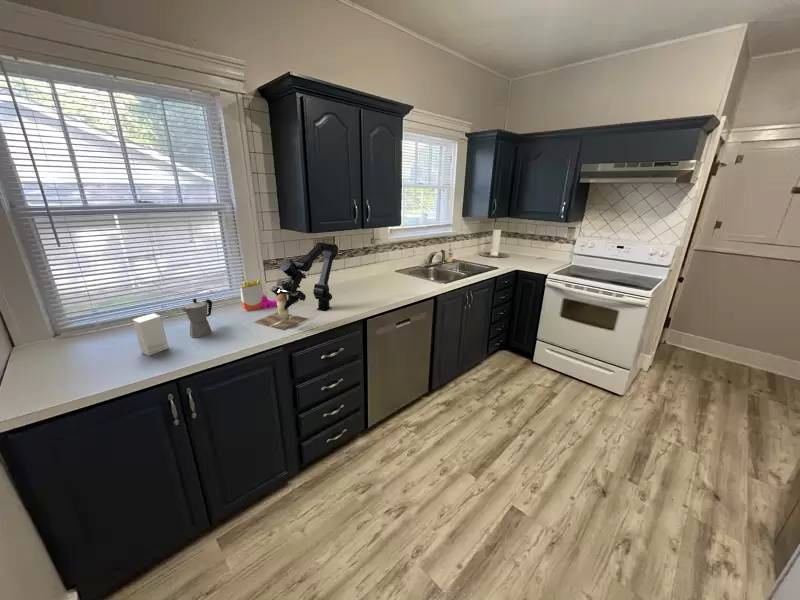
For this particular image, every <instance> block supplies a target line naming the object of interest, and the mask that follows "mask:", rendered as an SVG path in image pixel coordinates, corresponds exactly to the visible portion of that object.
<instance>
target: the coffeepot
mask: <svg viewBox="0 0 800 600" xmlns="http://www.w3.org/2000/svg"><path fill="white" fill-rule="evenodd" d="M212 307H213V301H212V300H210V299H209V298H207V299H204V300H201V301H197V298H193V299H192V302H190V303H187V304H185V305H183V308H182V312H184V313H186V317H187V319H188V320H189V322H190V323H189V336H190V337H191V338H194V339H202V338H205V337H208V336H210V335H211V334H212V332H213V330H212V328H211V325H210V323H209V321H208V319H207V317H209V316H211V315H212Z"/></svg>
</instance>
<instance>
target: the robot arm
mask: <svg viewBox="0 0 800 600" xmlns="http://www.w3.org/2000/svg"><path fill="white" fill-rule="evenodd" d="M321 254H322V255H323V261H322V262H323V263H322V267H321V271H320V277H319V282H317V283H315V284H314V286H313V289H312V290H313V291H312V292H313V293H312V294H313V295H314V298H315V300H318V302H317V303H318V304H317V305H318V308H316V310H318V311H322V312H327V311H329V310H331V309H332V306H330V301H331V300H333V295H332V293H331V292H330V286H329V280H330V279H329V278H330V274H331V272H332V271H331V270H332V266H333V261H334V260H335V258H336V257H337V255H338V254H339V247H338V244H335V243H334V244H333V243H328V242H323V241H322V242H321V241H318V242H317V243H316V245H315V246H314V247H313V248H312V249H311V250H310V251H309V252H308V253H306V254H305V256H302V257H300V258H298V259H296V260H295V261H294V262H293V261H292V260H291V259H287V260H285V261H284V262H282V263H281V264H280V266H279V267H280V270H281V271H282V272H283V273H284V274H285V275H286V276H287V277H289V279H285V280H283V279H277V281H276V286H275V285H274V286H272V287H271V288H270V291H271V292H272V293H273V294H275V296H276V297H277V296H278V295H279V294H286V295H287V302H286V304H285V307H284V309H287V308H288V309H289V307H291V306H292V305H293V304H295V303H297V302H300V301H305V300H306V298H307V296H306V294H305V293H304V292H303V291H302V290H298V289H300V288H301V282H302V280H303V279H307V276H306V272H309V271H310V269H311V268H312V267H313V263H314V261H315V260H316V259H317V258H319V257H320V255H321ZM275 307H276V308H277V301H276V306H275Z"/></svg>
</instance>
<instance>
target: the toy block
mask: <svg viewBox="0 0 800 600" xmlns="http://www.w3.org/2000/svg"><path fill="white" fill-rule="evenodd" d="M284 295H286V294H284ZM286 297H287V298H288V295H286ZM276 301H277V300H276V299H273V300H269V298H268V297H267V296H266V295H265V294H263V297H262V303H263V307H262V309H264V310H266V309H270V308H274V307H276Z"/></svg>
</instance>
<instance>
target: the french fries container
mask: <svg viewBox="0 0 800 600" xmlns="http://www.w3.org/2000/svg"><path fill="white" fill-rule="evenodd" d="M263 295H264V294H263V289H262V284H261V279H257V281H255V279H252V282H250V281H249V280H247V281H243V285H242V284H241V285H240V300H241V306H242V307H241V308H243V309H244V310H246V311H247V312H250V311H255V310H259V309H263V303H262V297H263Z"/></svg>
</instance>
